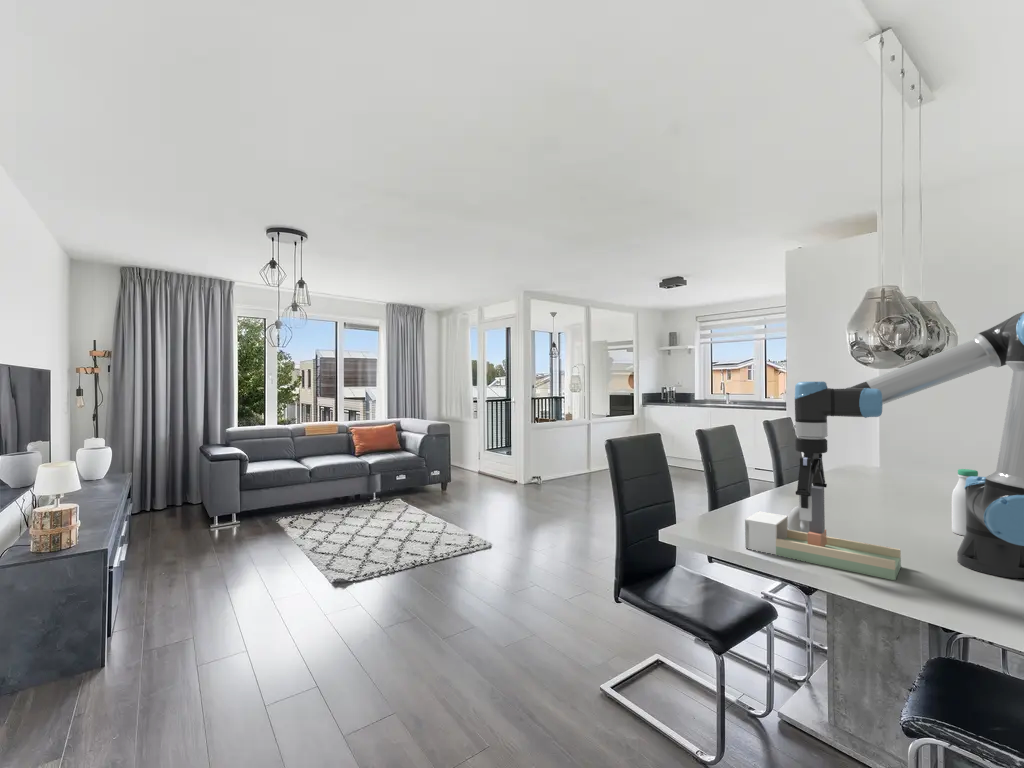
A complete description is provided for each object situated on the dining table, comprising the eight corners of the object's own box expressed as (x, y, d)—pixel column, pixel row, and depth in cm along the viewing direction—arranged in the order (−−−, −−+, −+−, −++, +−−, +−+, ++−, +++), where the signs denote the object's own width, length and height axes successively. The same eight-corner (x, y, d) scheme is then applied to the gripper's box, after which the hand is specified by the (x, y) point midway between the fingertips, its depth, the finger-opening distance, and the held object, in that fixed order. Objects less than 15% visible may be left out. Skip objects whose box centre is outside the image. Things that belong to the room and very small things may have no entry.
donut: (796, 542, 146) (796, 509, 146) (785, 539, 149) (784, 506, 149) (814, 537, 151) (814, 504, 151) (802, 534, 154) (802, 502, 154)
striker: (826, 544, 135) (825, 486, 135) (820, 550, 130) (819, 490, 130) (814, 541, 137) (813, 484, 137) (807, 548, 132) (807, 488, 132)
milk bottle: (956, 536, 151) (955, 471, 151) (948, 529, 157) (947, 467, 157) (990, 539, 147) (989, 472, 147) (980, 532, 154) (979, 468, 154)
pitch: (900, 566, 126) (900, 533, 126) (895, 580, 117) (894, 544, 117) (758, 539, 149) (758, 511, 149) (745, 548, 141) (745, 519, 141)
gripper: (806, 433, 146) (807, 504, 146) (782, 440, 128) (783, 521, 128) (836, 434, 141) (837, 508, 141) (816, 442, 123) (817, 527, 123)
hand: (812, 515), depth 134 cm, fingers open, 13 cm apart
